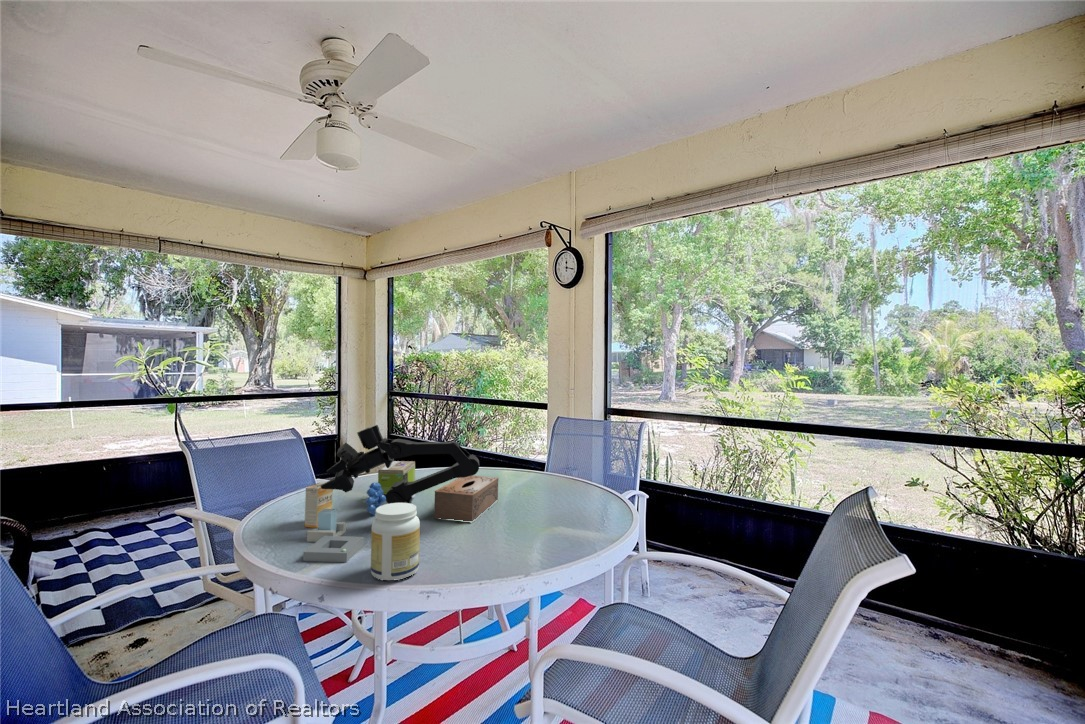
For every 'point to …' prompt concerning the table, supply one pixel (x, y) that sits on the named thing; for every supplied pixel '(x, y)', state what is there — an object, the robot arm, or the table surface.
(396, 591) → the table surface
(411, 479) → the tea box
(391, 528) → the supplement tub
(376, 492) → the grapes
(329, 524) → the plug
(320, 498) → the supplement box
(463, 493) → the tissue box cover
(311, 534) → the grey square frame
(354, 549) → the socket
